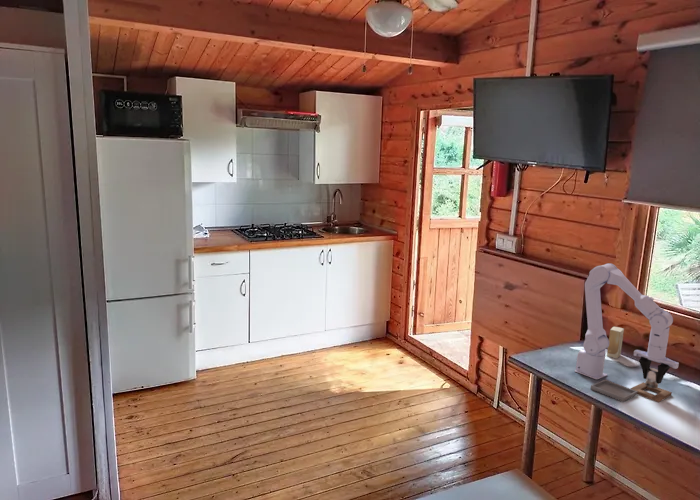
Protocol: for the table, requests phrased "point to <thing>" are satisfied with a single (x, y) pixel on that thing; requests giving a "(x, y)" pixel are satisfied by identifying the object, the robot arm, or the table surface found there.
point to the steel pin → (651, 378)
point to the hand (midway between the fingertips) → (652, 380)
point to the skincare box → (615, 342)
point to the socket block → (658, 397)
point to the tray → (614, 390)
